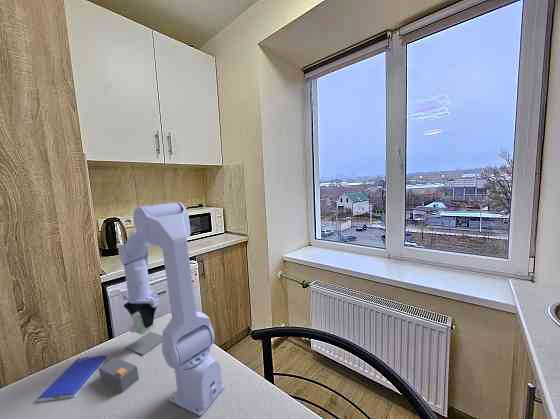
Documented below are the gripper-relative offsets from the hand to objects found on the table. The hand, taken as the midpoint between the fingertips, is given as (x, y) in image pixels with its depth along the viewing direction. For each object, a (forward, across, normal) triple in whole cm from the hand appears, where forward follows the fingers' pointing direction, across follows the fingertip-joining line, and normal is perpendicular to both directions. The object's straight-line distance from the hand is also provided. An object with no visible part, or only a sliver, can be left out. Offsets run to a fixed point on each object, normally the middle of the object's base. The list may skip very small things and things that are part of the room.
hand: (144, 324), depth 73 cm
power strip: (+6, -6, +12) cm, 15 cm away
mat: (+6, 0, 0) cm, 6 cm away
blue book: (+7, +5, +16) cm, 18 cm away
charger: (+2, 0, 0) cm, 2 cm away
